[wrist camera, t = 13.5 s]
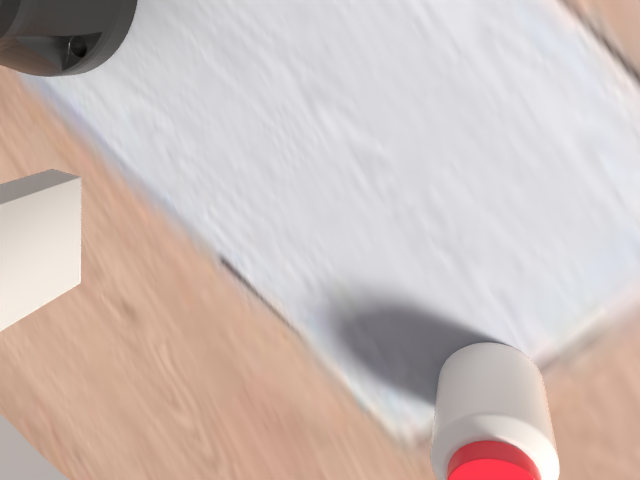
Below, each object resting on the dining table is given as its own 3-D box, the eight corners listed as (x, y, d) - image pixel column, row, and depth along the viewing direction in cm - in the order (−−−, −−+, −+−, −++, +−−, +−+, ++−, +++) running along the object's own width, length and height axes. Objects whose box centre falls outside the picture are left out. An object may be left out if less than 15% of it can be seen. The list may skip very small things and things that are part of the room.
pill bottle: (563, 366, 39) (592, 478, 29) (518, 443, 42) (530, 568, 32) (460, 326, 40) (454, 421, 30) (424, 404, 43) (408, 513, 33)
